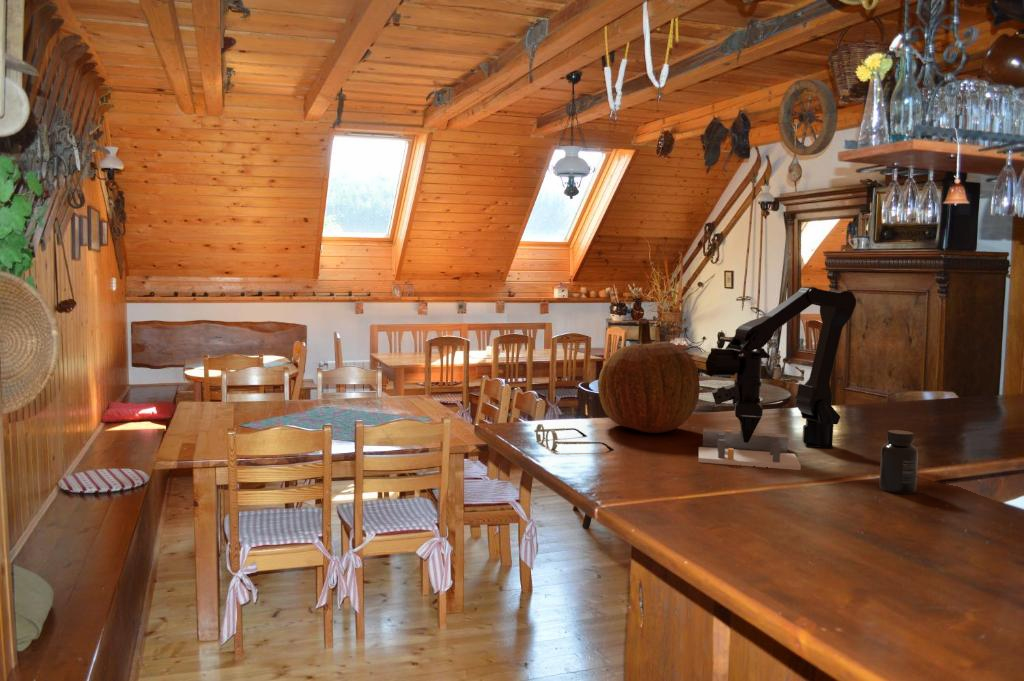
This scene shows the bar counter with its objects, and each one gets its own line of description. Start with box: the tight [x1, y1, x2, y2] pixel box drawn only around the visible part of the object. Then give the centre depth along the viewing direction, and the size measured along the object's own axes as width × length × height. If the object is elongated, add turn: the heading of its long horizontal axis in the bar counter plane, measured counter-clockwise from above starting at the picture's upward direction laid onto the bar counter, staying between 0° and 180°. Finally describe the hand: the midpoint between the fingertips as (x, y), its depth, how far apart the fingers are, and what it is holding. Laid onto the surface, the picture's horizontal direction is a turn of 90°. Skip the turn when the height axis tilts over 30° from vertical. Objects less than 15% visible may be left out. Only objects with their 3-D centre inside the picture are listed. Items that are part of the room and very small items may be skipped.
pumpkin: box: [597, 317, 701, 434], centre depth 222 cm, size 27×27×30 cm
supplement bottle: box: [878, 429, 919, 495], centre depth 169 cm, size 7×7×12 cm
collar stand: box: [698, 433, 802, 471], centre depth 192 cm, size 22×12×5 cm, turn 77°
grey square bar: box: [702, 428, 789, 453], centre depth 206 cm, size 20×4×4 cm, turn 77°
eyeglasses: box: [534, 423, 615, 451], centre depth 204 cm, size 17×15×5 cm
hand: (745, 438), depth 206 cm, fingers open, 9 cm apart
